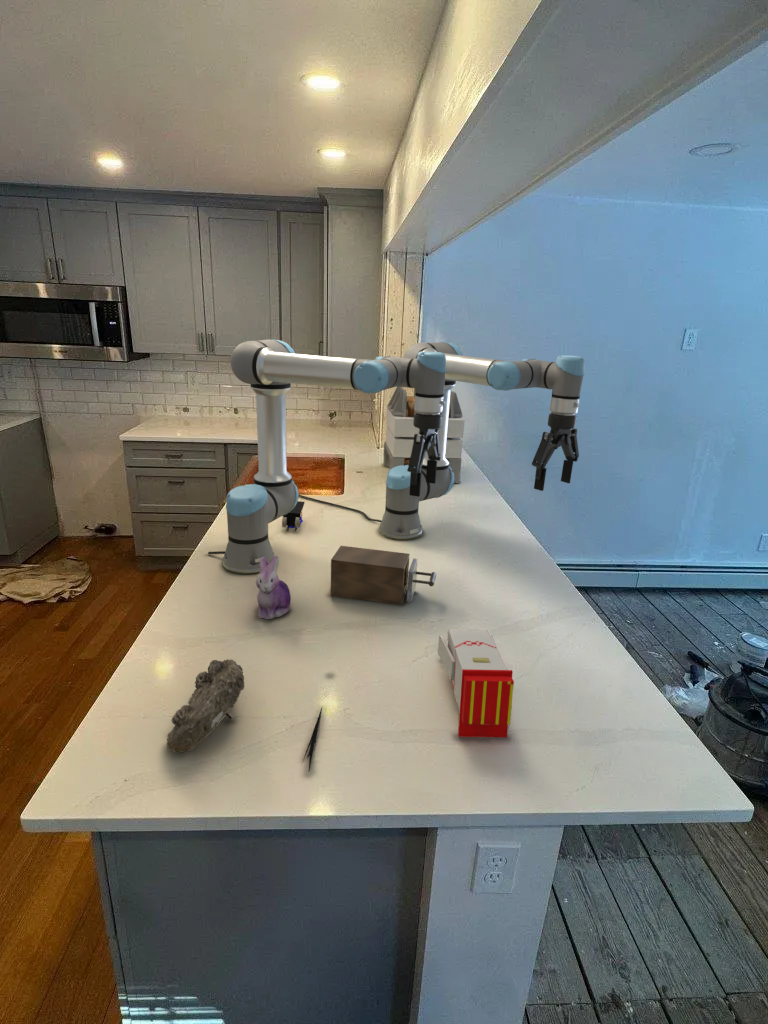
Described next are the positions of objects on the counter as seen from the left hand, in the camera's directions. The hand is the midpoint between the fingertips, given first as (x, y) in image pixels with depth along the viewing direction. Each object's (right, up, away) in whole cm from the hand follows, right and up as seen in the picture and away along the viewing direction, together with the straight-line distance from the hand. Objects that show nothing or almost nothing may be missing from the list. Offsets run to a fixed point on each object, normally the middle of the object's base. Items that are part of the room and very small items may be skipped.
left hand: (422, 489), depth 157 cm
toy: (+7, -44, -39) cm, 59 cm away
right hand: (+38, +1, +8) cm, 39 cm away
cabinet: (-15, -29, +1) cm, 32 cm away
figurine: (-39, -32, -11) cm, 52 cm away
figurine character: (-43, -12, +45) cm, 63 cm away
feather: (-23, -46, -49) cm, 71 cm away
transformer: (+6, +12, +118) cm, 119 cm away
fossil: (-44, -45, -49) cm, 80 cm away
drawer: (-9, -28, 0) cm, 30 cm away
